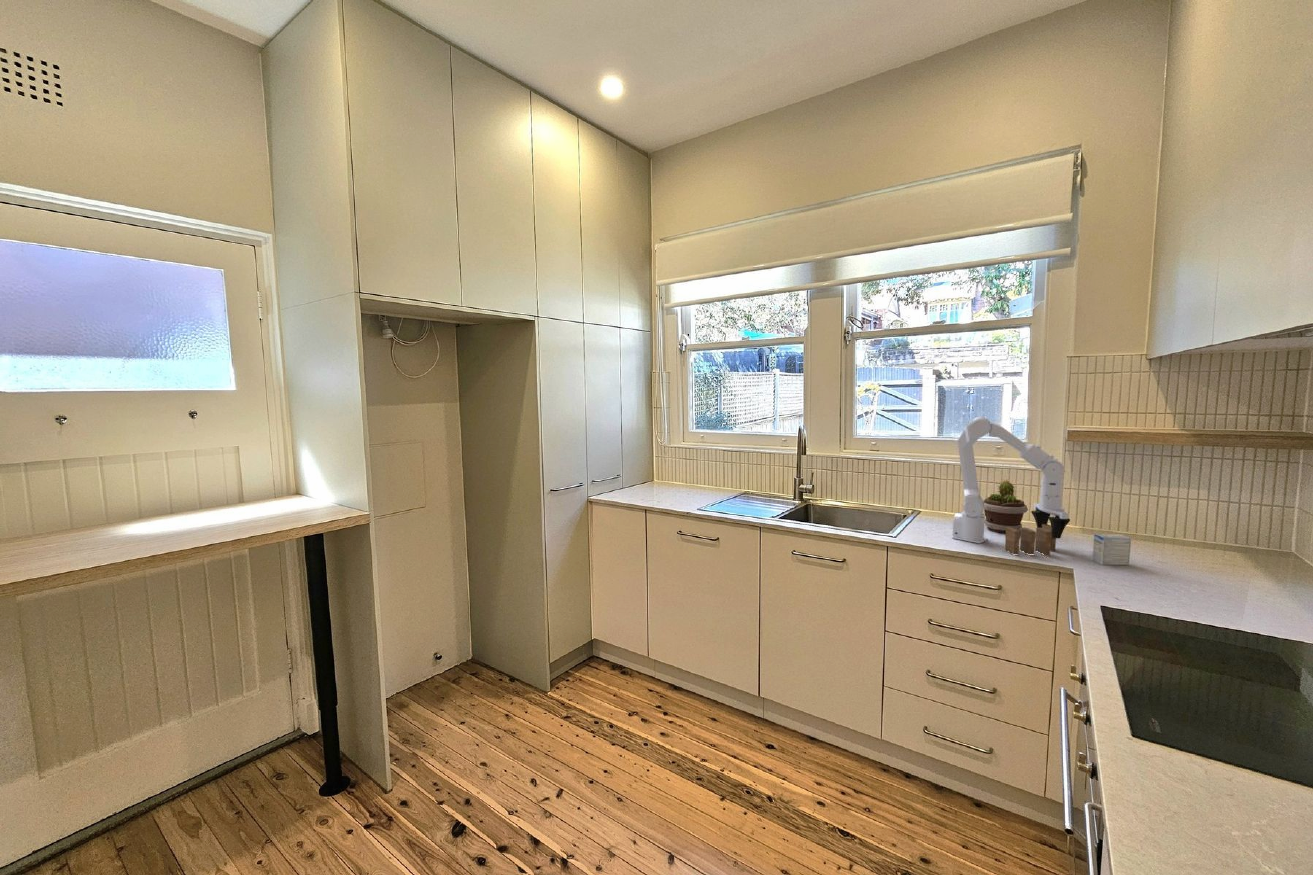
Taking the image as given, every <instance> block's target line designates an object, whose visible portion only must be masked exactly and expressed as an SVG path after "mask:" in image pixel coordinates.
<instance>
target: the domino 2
mask: <svg viewBox="0 0 1313 875" xmlns="http://www.w3.org/2000/svg"><path fill="white" fill-rule="evenodd" d="M1035 542H1036V530H1032V529H1030V528H1027V527H1022V528H1021V529H1020V539H1019V551H1020V550H1021V551H1024V552H1025V553H1028V554H1034V555H1035ZM1021 551H1020V552H1021ZM1025 553H1024V554H1025Z"/></svg>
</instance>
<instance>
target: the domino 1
mask: <svg viewBox="0 0 1313 875" xmlns="http://www.w3.org/2000/svg"><path fill="white" fill-rule="evenodd" d="M1020 539H1021V530H1019V531H1018V530H1016V529H1013V528H1011V527H1006V533H1005V540H1004V541H1005V543H1004V551H1005V550H1006V551H1009V552H1010V553H1013V554H1019V555H1020ZM1006 551H1005V552H1006ZM1010 553H1009V554H1010Z"/></svg>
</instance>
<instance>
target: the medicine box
mask: <svg viewBox="0 0 1313 875" xmlns="http://www.w3.org/2000/svg"><path fill="white" fill-rule="evenodd" d="M1131 546H1132V538H1130V537H1128V536H1125V535H1123V534H1113V533H1112V534H1109V533H1108V534H1105V533H1104V534H1103V533H1098V534H1097V533H1096V534H1093V547H1092V562H1095V563H1097V564H1099V565H1102V566H1103V565H1104V566H1106V565H1107V566H1129V565H1130V558H1131V557H1130V556H1131V548H1132V547H1131Z"/></svg>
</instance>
